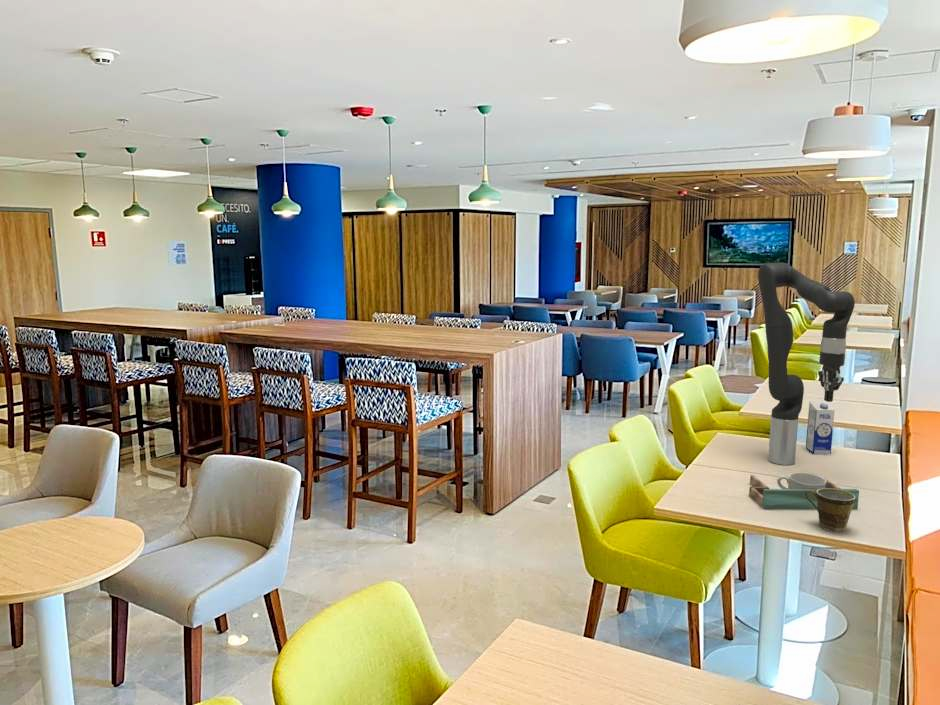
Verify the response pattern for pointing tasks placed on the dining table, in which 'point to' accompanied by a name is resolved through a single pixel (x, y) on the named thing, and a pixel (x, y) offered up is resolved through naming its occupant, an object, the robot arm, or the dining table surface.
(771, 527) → the dining table surface
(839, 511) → the ceramic cup
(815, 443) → the milk carton
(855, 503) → the teal wooden tray
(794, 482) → the teacup
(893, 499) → the dining table surface
